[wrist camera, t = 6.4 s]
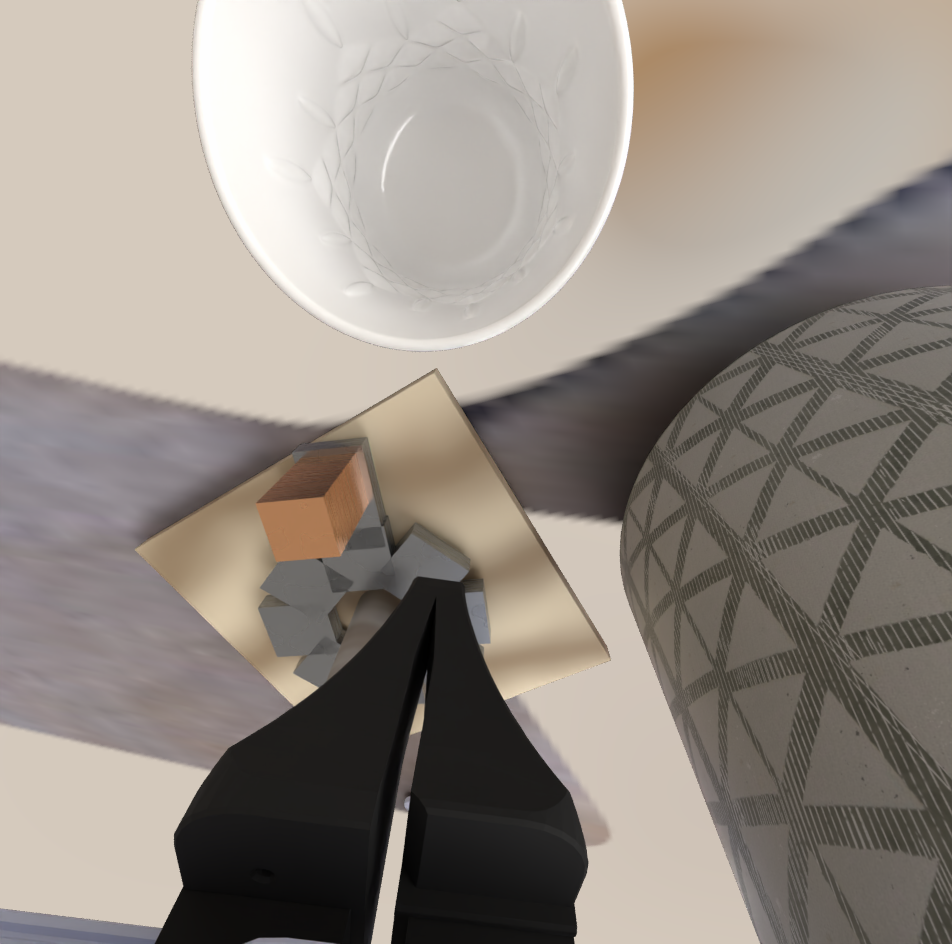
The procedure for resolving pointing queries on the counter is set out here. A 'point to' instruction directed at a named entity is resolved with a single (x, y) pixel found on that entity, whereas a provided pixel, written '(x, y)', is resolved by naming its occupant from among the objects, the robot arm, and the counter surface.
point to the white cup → (415, 153)
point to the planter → (814, 616)
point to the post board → (405, 502)
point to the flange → (343, 554)
